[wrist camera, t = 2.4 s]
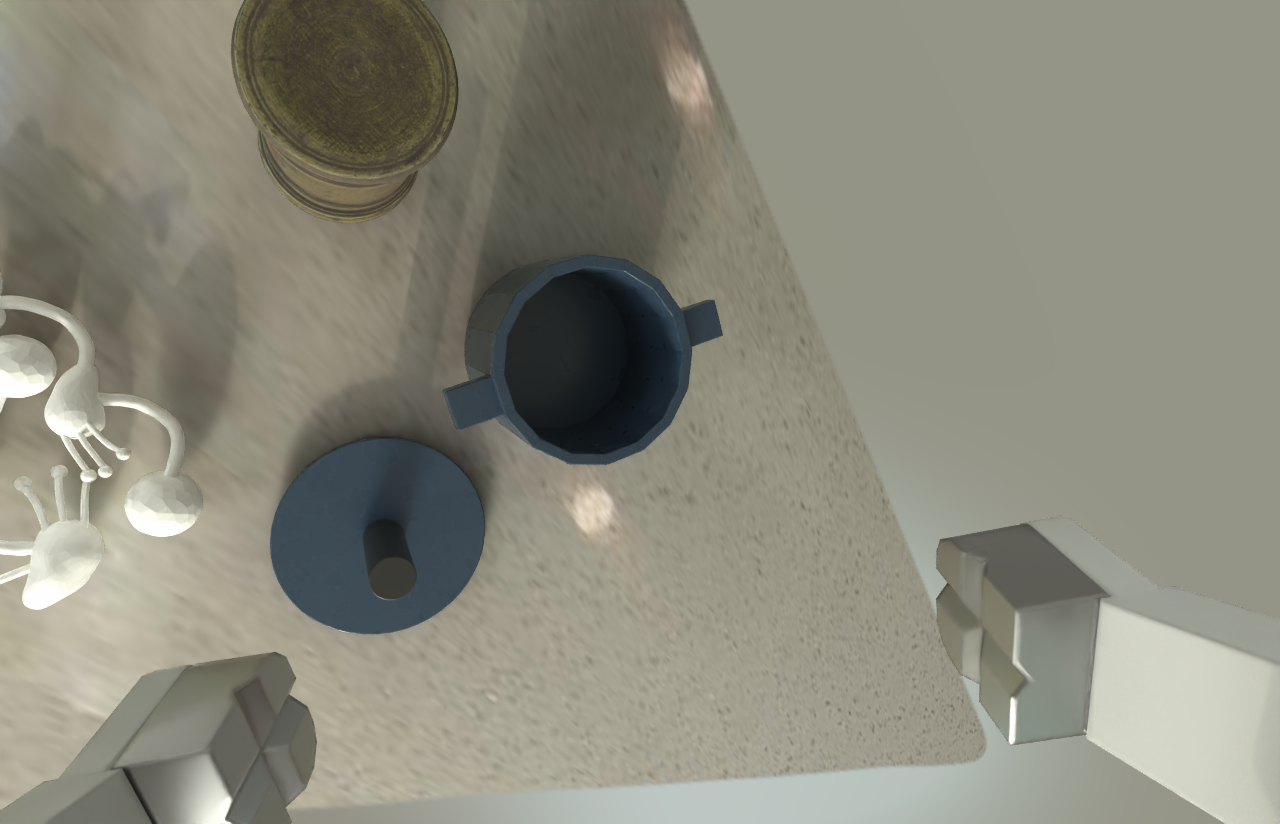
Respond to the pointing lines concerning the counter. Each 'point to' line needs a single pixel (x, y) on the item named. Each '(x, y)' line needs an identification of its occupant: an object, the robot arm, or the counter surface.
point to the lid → (377, 535)
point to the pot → (580, 357)
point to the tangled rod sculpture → (76, 414)
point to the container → (344, 98)
